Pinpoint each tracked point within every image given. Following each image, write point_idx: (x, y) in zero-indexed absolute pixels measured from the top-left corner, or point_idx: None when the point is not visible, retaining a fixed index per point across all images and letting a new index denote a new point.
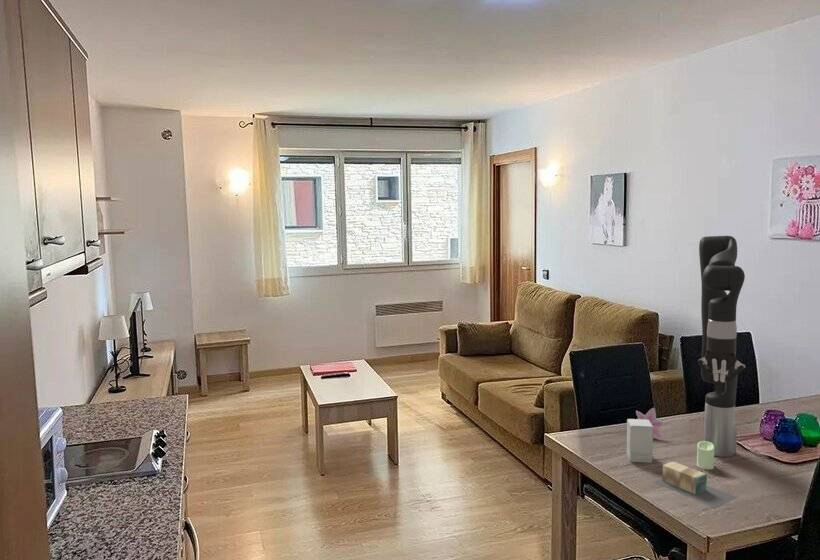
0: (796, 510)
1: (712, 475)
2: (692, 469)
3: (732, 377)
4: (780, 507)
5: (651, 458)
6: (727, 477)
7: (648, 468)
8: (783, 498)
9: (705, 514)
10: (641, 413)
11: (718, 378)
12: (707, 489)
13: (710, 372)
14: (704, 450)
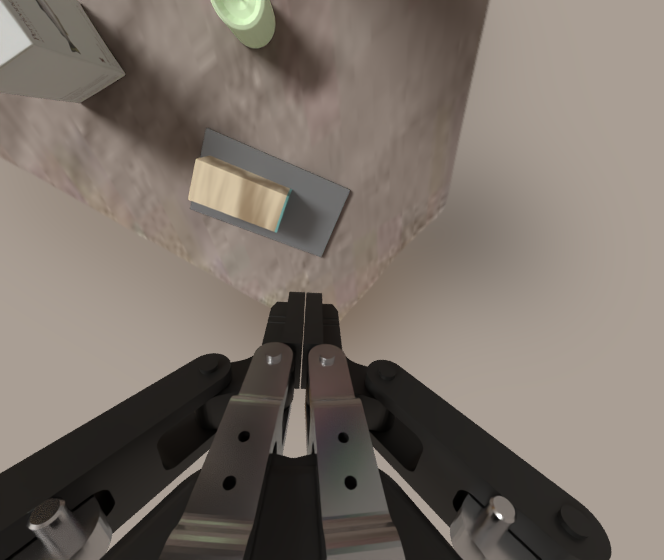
0: (451, 177)
1: (282, 74)
2: (254, 187)
3: (400, 441)
4: (425, 180)
5: (117, 73)
6: (316, 65)
7: (140, 123)
8: (434, 128)
9: (311, 279)
10: None
11: (289, 410)
12: (293, 184)
13: (193, 395)
14: (242, 29)
